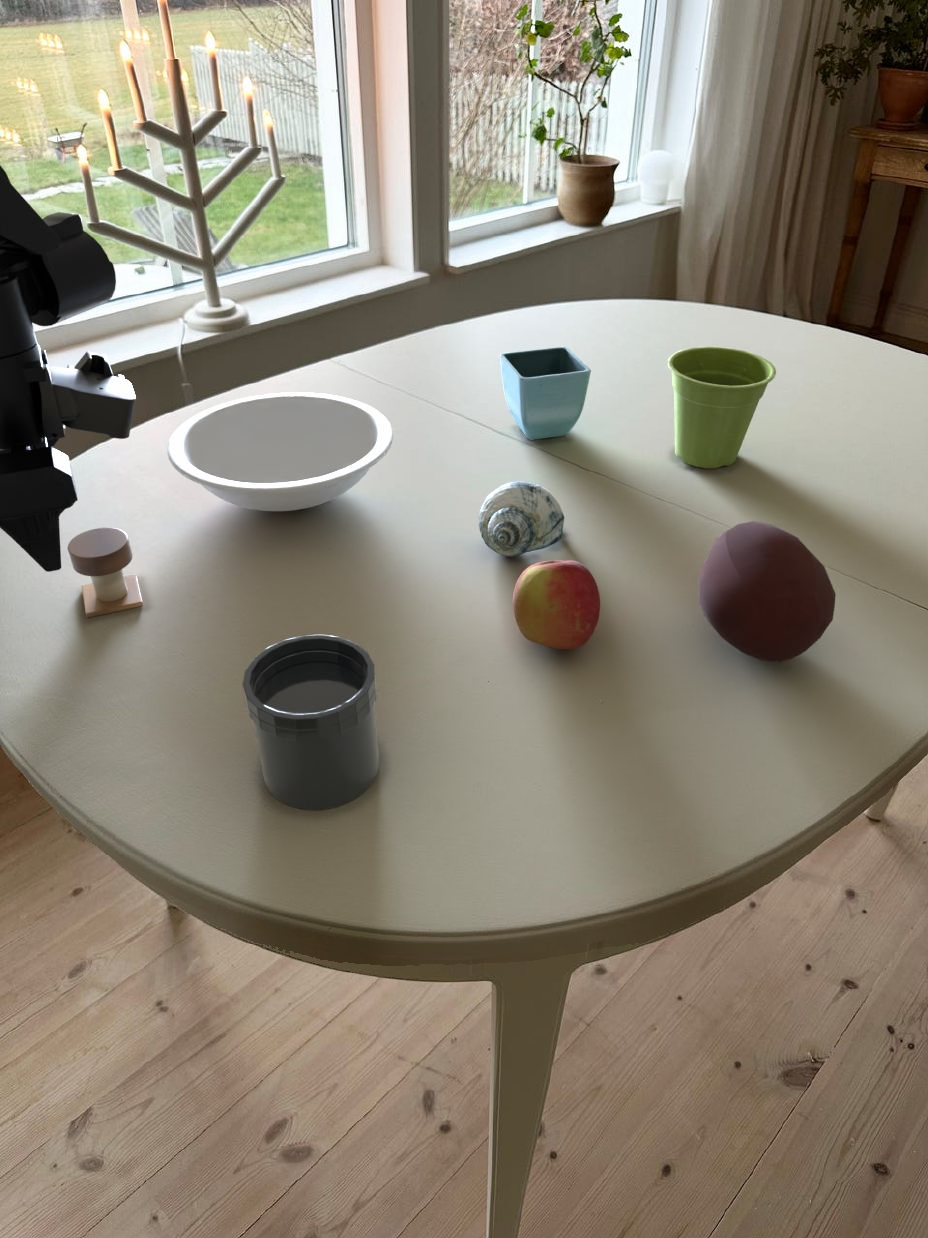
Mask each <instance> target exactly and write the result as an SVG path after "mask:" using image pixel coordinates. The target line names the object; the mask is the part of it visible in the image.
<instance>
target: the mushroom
mask: <svg viewBox="0 0 928 1238" xmlns="http://www.w3.org/2000/svg"><path fill="white" fill-rule="evenodd" d="M67 551H68V555H69V558H70V562H71V565H72V568H73V570H74V571H75V572H76V573H78V574H79V575H81V576H87V577H90V580H91V583H93V586H94V589H95V593H96V596H97V598H98V599H99V600H101V601H107V602H108V601H115V600H118V599H120V598H122V597H124V596H125V595H126V594H127V591H128V589H127V586H126V582H125V578H124V576H125V575H124V572H123V569H125V568H126V567H127V566H128V565H129V564H131V562H132V560H133V551H132V548H131V543H130V540H129V536H128V534H127V532H125V531H123V530H122V529H119V528H115V527H99V528H92V529H89V530H86V531H82V533H81V532H80V533H79V534H77V535H76V536H74V537H73V538H72V539H71V540H70V541H69V542H68V544H67Z"/></svg>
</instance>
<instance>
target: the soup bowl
mask: <svg viewBox="0 0 928 1238" xmlns="http://www.w3.org/2000/svg"><path fill="white" fill-rule="evenodd" d="M393 441H394V431H393V428H392V425H391V423H390V421H389V420H388V418H387V417H386V416H384V415H383V413H381V412H380V411H378V410H377V409H376V408H374V407H372V406H370V405H368V404H367V403H363V402H361V401H359V400H355V399H352V398H348V397H344V396H339V395H334V394H328V393H327V394H326V393H316V392H278V393H267V394H261V395H260V394H259V395H253V396H248V397H244V398H243V397H242V398H239V399H234V400H231V401H228V402H224V403H221V404H218V405H215V406H213V407H210V408H208V409H205V410H203V411H201V412H199V413H197V414H195V415H193V416H192V417H190V418H189V419H187V420H186V421H185V422H183V423H182V424H181V425H180V426H179V427H177V428H176V430H175V431H174V432H173V433H172V434H171V436H170V438H169V440H168V442H167V448H166V450H167V451H166V453H167V458H168V460H169V462H170V464H171V466H172V467H173V468H174V469H175V470H176V471H177V472H178V473H179V474H180V475H181V476H183V477H185V478H186V479H188V480H190V481H192V482H194V483H197V484H199V485H201V487H203V488H204V489H206V490H207V491H208V492H210V493H211V494H213V495H214V496H216V497H217V498H219V499H221V500H223V501H225V502H228V503H230V504H232V505H235V506H238V507H242V508H245V509H250V510H254V511H262V512H290V511H299V510H304V509H305V510H306V509H309V508H313V507H316V506H319V505H323V504H325V503H327V502H330V501H332V500H334V499H336V498H338V497H340V496H342V495H344V494H345V493H346V492H347V491H349V490H350V489H352V488H353V487H355V485H357V484H358V483H359V482H360V481H361V480H362V479H363V478H364V477H365V476H366V474H367V473H368V472H369V470H370V469H371V468H372V467H373V466H375V465H376V464H378V462H380V461H381V460H382V459H383V458H384V457H386V455H387V453H388V452H389V451H390V450H391V449H390V448H391V446H392V444H393Z"/></svg>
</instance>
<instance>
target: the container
mask: <svg viewBox="0 0 928 1238" xmlns="http://www.w3.org/2000/svg"><path fill="white" fill-rule="evenodd" d="M242 690H243V695H244V701H245V706H246V709H247V712H248V716H249V718H250V719H251V721H252V724H253V730H254V735H255V739H256V740H255V741H256V745H257V750H258V755H259V761H260V766H261V771H262V777H263V781H264V784H265V786H266V788H267V790H268V791H269V792H270V794H271V795H272V796H273V797H274V798H275V799H277V801H279V802H281V803H283V804H284V805H287V806H290V807H293V808H296V809H302V810H308V811H309V810H310V811H318V810H329V809H332V808H333V809H334V808H336V807H339V806H343V805H345V804H348V803H351V802H352V801H353V800H355V799H357V798H358V797H360V796H361V795H362V794H364V793H365V792H366V791H367V790H368V789H369V788H370V787H371V785H373V782H374V781H375V779H376V777H377V774H378V772H379V769H380V768H379V767H380V755H379V742H378V730H377V719H376V706H375V705H376V704H375V702H376V700H377V677H376V665H375V663H374V661H373V659H372V657H371V655H370V654H369V652H368V651H367V650H365V649H364V648H362V646H360V645H359V644H358V643H357V642H354V641H351V640H349V639H346V638H344V637H341V636H334V635H328V634H308V635H299V636H296V637H295V636H294V637H291V638H287V639H284V640H281V641H279V642H277V643H275V644H273V645H270V646H268V647H267V648H265V649H264V650H262V651H261V652H259V654H257V655H256V656H255V657H254V658H252V660H251V661H250V663H249V664H248V666H247V667H246V669H245V670H244V674H243V679H242Z"/></svg>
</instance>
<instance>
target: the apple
mask: <svg viewBox="0 0 928 1238" xmlns="http://www.w3.org/2000/svg"><path fill="white" fill-rule="evenodd" d="M512 594H513V596H512V609H513V616H514V619H515V622H516V625H517V627H518V629H519V631H520V633H521V634H522V635H523V636H524V638H526V639H527V640H528V641H530V642H532V643H534V644H538V645H542V646H543V647H547V648H552V649H559V650H576V649H578V648H580V647H582V646H584V645H585V644H587V642H588V641H589V640H590V638H591V637H592V636H593V634H594V632H595V630H596V628H597V627H598V626H597V625H598V622H599V619H600V614H601V595H600V590H599V586H598V583H597V582H596V579H595V577H594V576H593V574H592V572H591V571H590V569H589V568H588V567H587V566H585V565H584V564H582V563H581V562H579V561H576V560H569V559H568V560H559V559H549V560H545V561H538V562H536V563H533V564H531V565H529V566H528V567H527V568H525V569H524V570H523V571H522V572H521V574H520V575H519V576H518V578H517V581H516V583H515V586H514V589H513V593H512Z"/></svg>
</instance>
